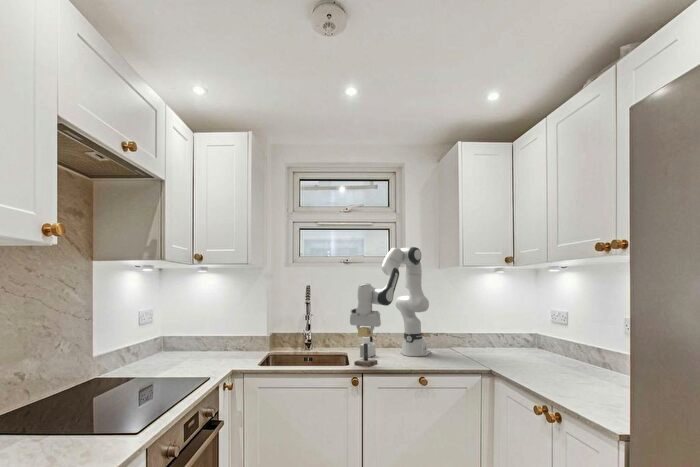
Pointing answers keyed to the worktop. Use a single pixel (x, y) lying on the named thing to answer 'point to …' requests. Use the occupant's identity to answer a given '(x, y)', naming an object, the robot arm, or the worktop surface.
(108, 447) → the worktop surface
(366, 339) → the container
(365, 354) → the post board
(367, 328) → the collar
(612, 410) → the worktop surface
